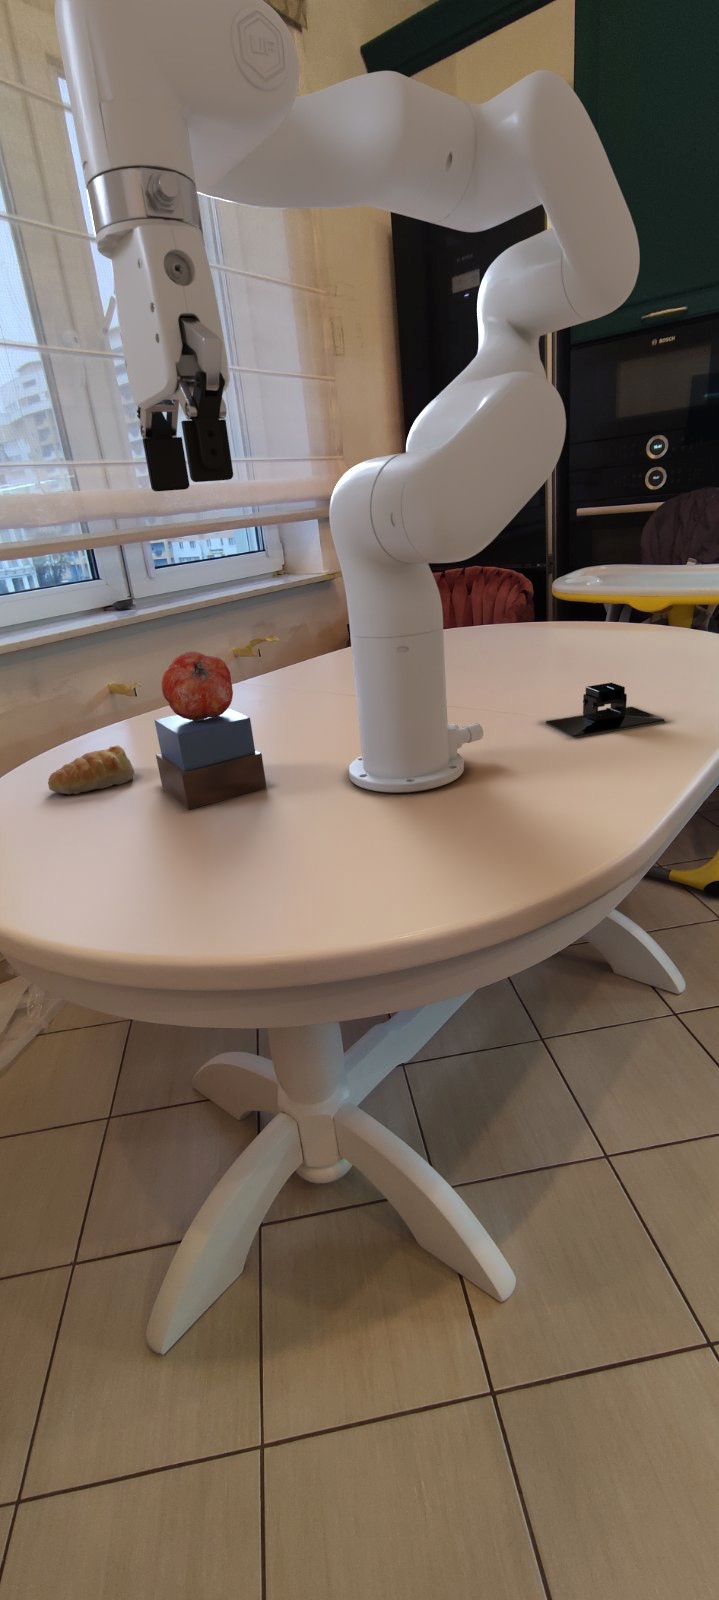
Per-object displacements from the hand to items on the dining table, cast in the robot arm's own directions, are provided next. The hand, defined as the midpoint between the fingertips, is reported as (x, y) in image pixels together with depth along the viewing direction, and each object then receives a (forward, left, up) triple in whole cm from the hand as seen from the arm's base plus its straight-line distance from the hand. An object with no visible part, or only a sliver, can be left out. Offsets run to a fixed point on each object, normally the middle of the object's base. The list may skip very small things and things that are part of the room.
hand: (190, 485), depth 58 cm
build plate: (-48, +1, -31) cm, 57 cm away
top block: (-2, -14, -26) cm, 30 cm away
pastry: (+8, -26, -31) cm, 41 cm away
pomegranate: (-2, -14, -22) cm, 27 cm away
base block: (-2, -14, -30) cm, 33 cm away
